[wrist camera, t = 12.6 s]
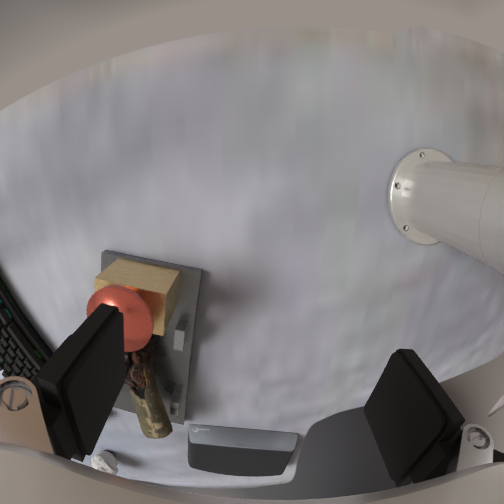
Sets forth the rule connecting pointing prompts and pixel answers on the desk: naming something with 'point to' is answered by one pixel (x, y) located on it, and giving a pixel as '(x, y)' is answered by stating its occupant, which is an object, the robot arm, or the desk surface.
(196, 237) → the desk surface
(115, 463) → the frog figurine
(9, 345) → the keyboard
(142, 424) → the morel mushroom
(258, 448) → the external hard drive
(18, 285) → the desk surface
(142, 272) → the stand
